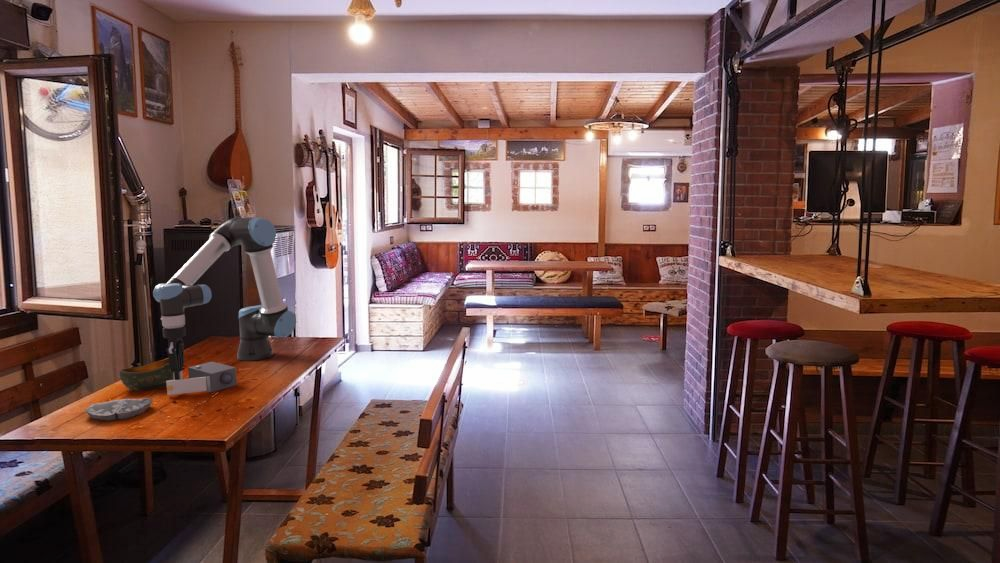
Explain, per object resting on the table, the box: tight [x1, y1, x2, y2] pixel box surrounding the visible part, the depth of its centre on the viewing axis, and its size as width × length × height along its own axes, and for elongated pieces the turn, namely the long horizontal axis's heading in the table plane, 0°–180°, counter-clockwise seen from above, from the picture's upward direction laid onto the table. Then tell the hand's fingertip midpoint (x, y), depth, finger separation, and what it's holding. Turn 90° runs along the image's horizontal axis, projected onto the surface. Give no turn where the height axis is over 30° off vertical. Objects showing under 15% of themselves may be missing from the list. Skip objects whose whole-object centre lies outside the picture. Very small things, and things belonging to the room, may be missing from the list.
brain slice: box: [84, 397, 153, 421], centre depth 212 cm, size 20×17×3 cm
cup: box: [119, 357, 184, 392], centre depth 241 cm, size 13×20×10 cm, turn 97°
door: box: [166, 376, 211, 396], centre depth 232 cm, size 2×14×6 cm, turn 112°
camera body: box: [187, 361, 238, 393], centre depth 243 cm, size 10×18×8 cm, turn 56°
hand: (179, 388), depth 233 cm, fingers closed
